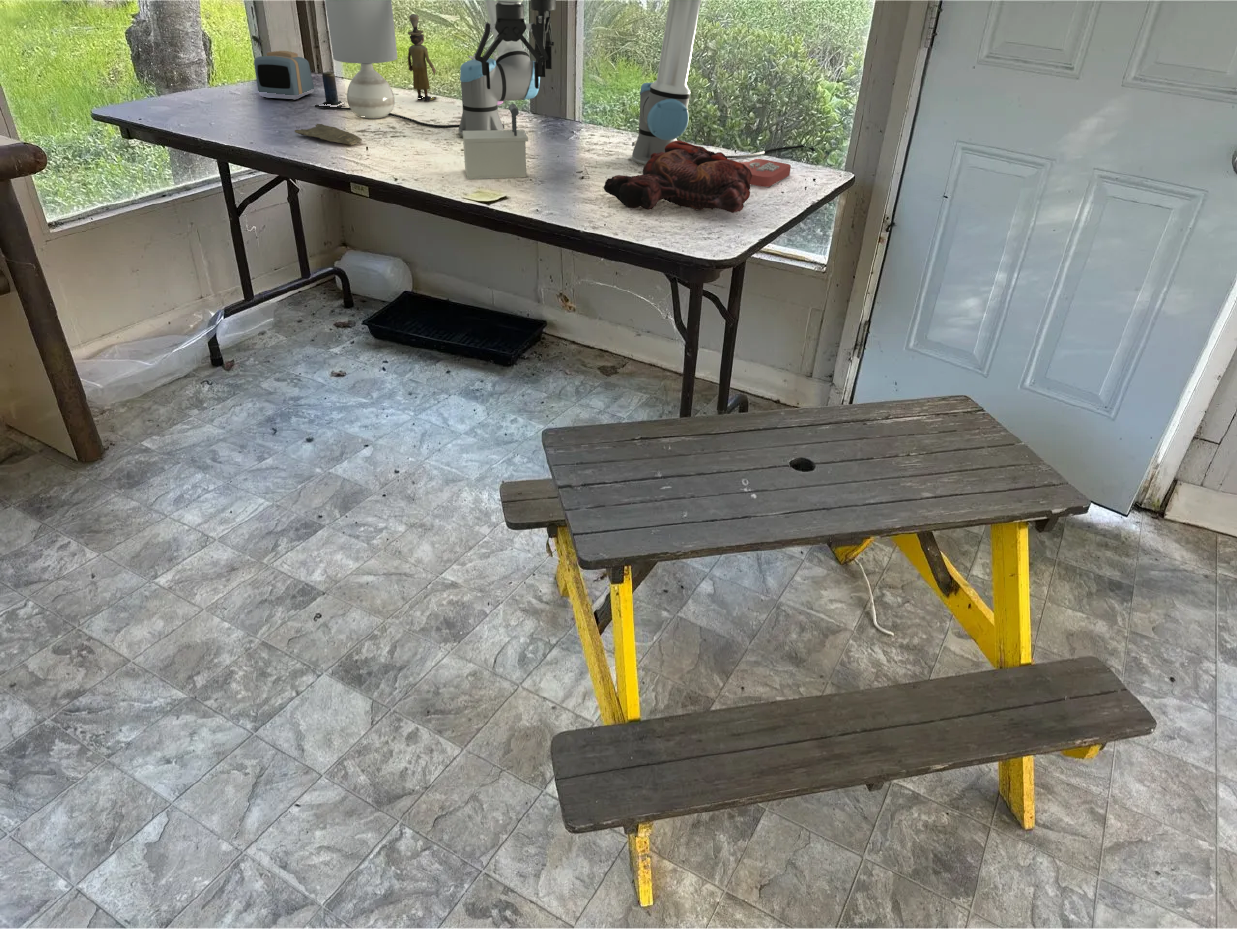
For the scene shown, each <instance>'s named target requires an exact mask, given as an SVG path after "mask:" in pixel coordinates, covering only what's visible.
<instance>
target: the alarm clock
mask: <svg viewBox="0 0 1237 929" xmlns="http://www.w3.org/2000/svg"><path fill="white" fill-rule="evenodd" d="M253 65H254V72H255V77H256V78H255V79H256V86H257V92H258V91H259V92H267V93H276V94H285V95H299V94H302V93H304V92H307V91H309V90H311V89H314V90H315V85H314V81H313V76H312V72H311V67H310V62H309V60H307V59H306V58H305V57H302V56H299V55H298V53H296V52H293V51H289V50H275V51H269V52H266V55H261V56H257V57H256V58H254V60H253Z"/></svg>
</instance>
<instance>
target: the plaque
mask: <svg viewBox="0 0 1237 929" xmlns="http://www.w3.org/2000/svg"><path fill="white" fill-rule="evenodd" d="M739 162H740V163H742V164H744V165H745V166H746V167H747V168H749V169H750V171H751V173H752V178H751V180H750V186H751V185H752V186H755V187H762V188H769V187H772V186H773V185H775V184H777V183H779V182H780V181H782V180H784V179H786V178H788V177H789V176H790V175H791V168H792V165H791V164H789V163H786V162H781V161H775V160H769V159H763V158H754V159H752V160H749V161H739Z"/></svg>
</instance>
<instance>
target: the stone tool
mask: <svg viewBox="0 0 1237 929" xmlns="http://www.w3.org/2000/svg"><path fill="white" fill-rule="evenodd" d="M294 133H296V134H298V135H300V136H306V137H309V138H317V139H320V140H321V141H327V142H332V143H338V144H342V145H348V146H354V145H356V144H359V143H361V142H362V141H363V139H362V137H358V135H355V134H354V133H351V132H349V131H347V130H343V129H339V128H338V127H336V126H329V125H326V124H323V123H317V124H315V126H314V127H310V128H307V129H306V128H305V129H303V128H301V129H295V130H294Z"/></svg>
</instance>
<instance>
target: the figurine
mask: <svg viewBox="0 0 1237 929" xmlns="http://www.w3.org/2000/svg"><path fill="white" fill-rule="evenodd" d="M408 18H409V21H410V24H411V26H412V30H411V31H408V32H407V34H408V35H409V39H410V42H411V44H412V45H410V46H409V47H408V50H407V51H408V53H407V65H408V71H409V72H412V76H413V78H412V87H413V90H416V93H417V99H416V101H417V102H421V101H423V102H430V101H434V100H436V99H437V97H436V96H429V95H428V94H429V93H428V90H430V87H431V85H430V81H429V76H428V75H429V74H428V66H427V65H429V68H431V71H432V74H433V76H434V77H435V75H436V72H437V71H436V70H437V69H436V68H435V66H434V64H433V63H432V61H431V59H430V57H429V52H428V48H427V47H426V46H425V45H423V44H424V42H425V35H424V31H423V30H420V29H418V25H419V20H420V18H419V15H418V14H416V13H411V14H410V15H409V16H408ZM422 91H423V93H424V95H422ZM423 96H425V97H423ZM422 97H423V98H422ZM431 97H432V98H431ZM418 98H421V99H418Z"/></svg>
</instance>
